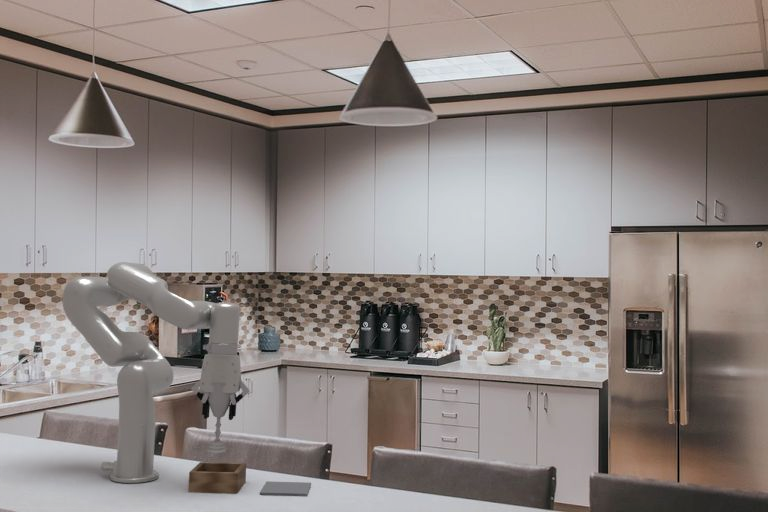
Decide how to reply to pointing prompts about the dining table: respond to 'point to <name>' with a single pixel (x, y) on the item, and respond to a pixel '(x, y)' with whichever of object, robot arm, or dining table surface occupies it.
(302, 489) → the coaster
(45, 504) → the dining table surface
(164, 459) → the dining table surface
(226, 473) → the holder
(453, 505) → the dining table surface
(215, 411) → the chalice
